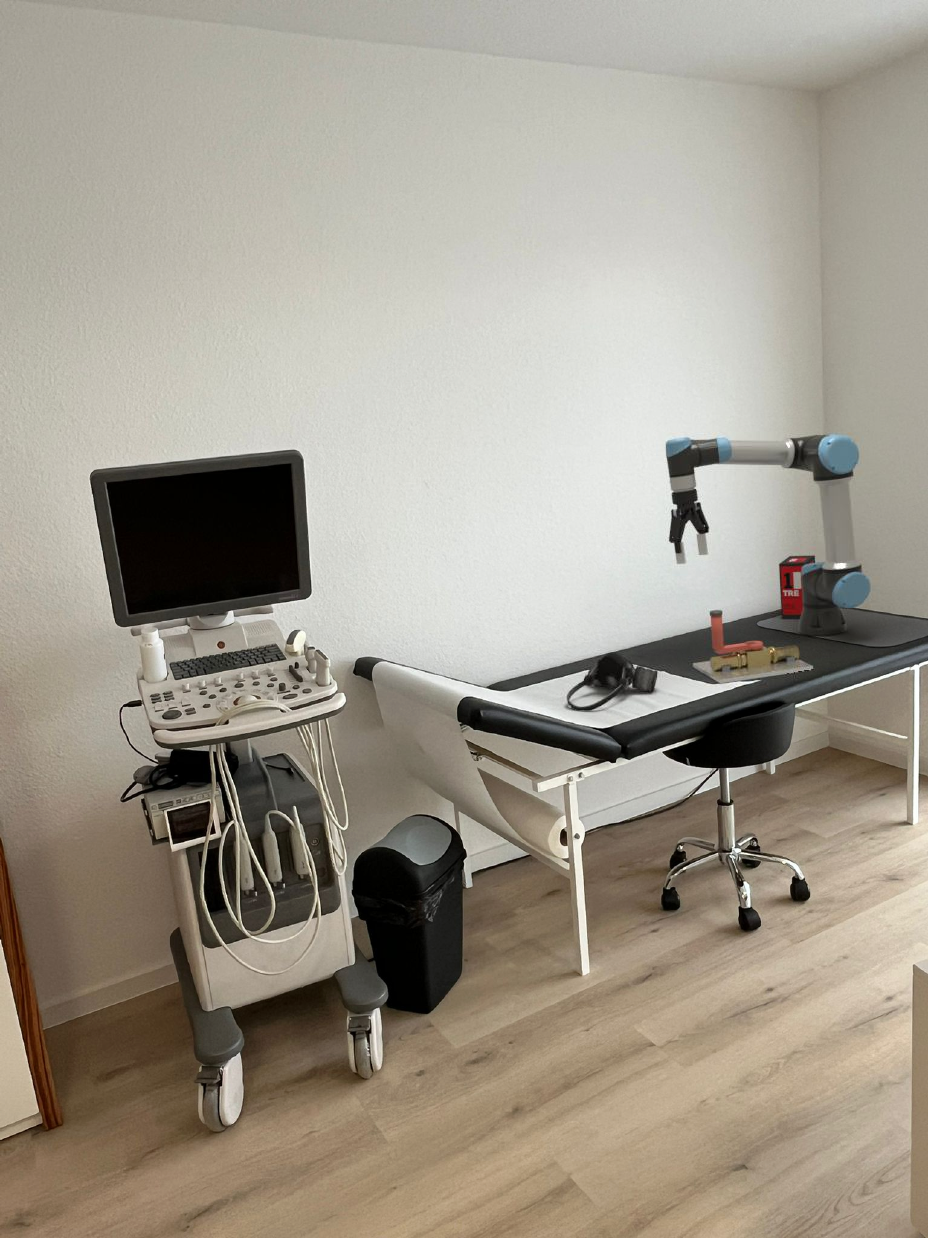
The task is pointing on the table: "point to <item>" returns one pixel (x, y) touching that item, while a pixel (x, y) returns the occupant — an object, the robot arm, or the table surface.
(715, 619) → the lever
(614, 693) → the respirator mask
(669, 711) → the table surface
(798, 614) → the cleaning product box
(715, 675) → the valve
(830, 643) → the table surface
